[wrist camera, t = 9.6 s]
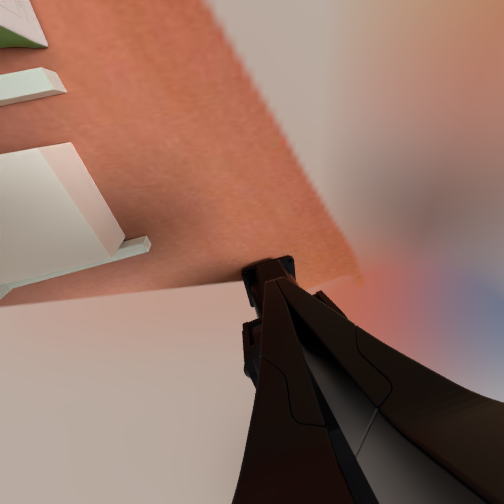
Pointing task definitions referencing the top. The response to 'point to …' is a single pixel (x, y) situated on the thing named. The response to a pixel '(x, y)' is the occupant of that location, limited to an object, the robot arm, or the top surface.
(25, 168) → the carton
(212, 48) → the top surface
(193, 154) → the top surface
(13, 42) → the ink box
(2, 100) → the frame
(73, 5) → the top surface
